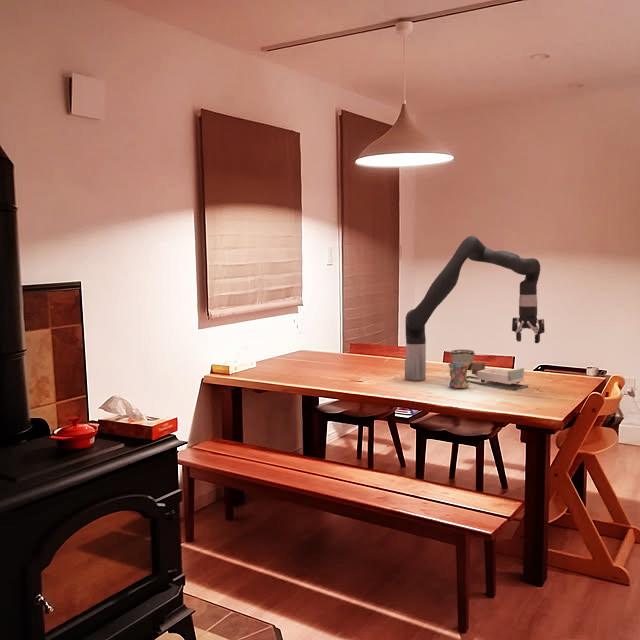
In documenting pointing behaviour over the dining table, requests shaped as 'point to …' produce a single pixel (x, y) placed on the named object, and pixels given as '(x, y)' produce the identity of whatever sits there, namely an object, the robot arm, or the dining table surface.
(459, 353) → the food container
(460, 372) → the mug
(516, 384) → the rails
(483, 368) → the block
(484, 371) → the cart
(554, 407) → the dining table surface
